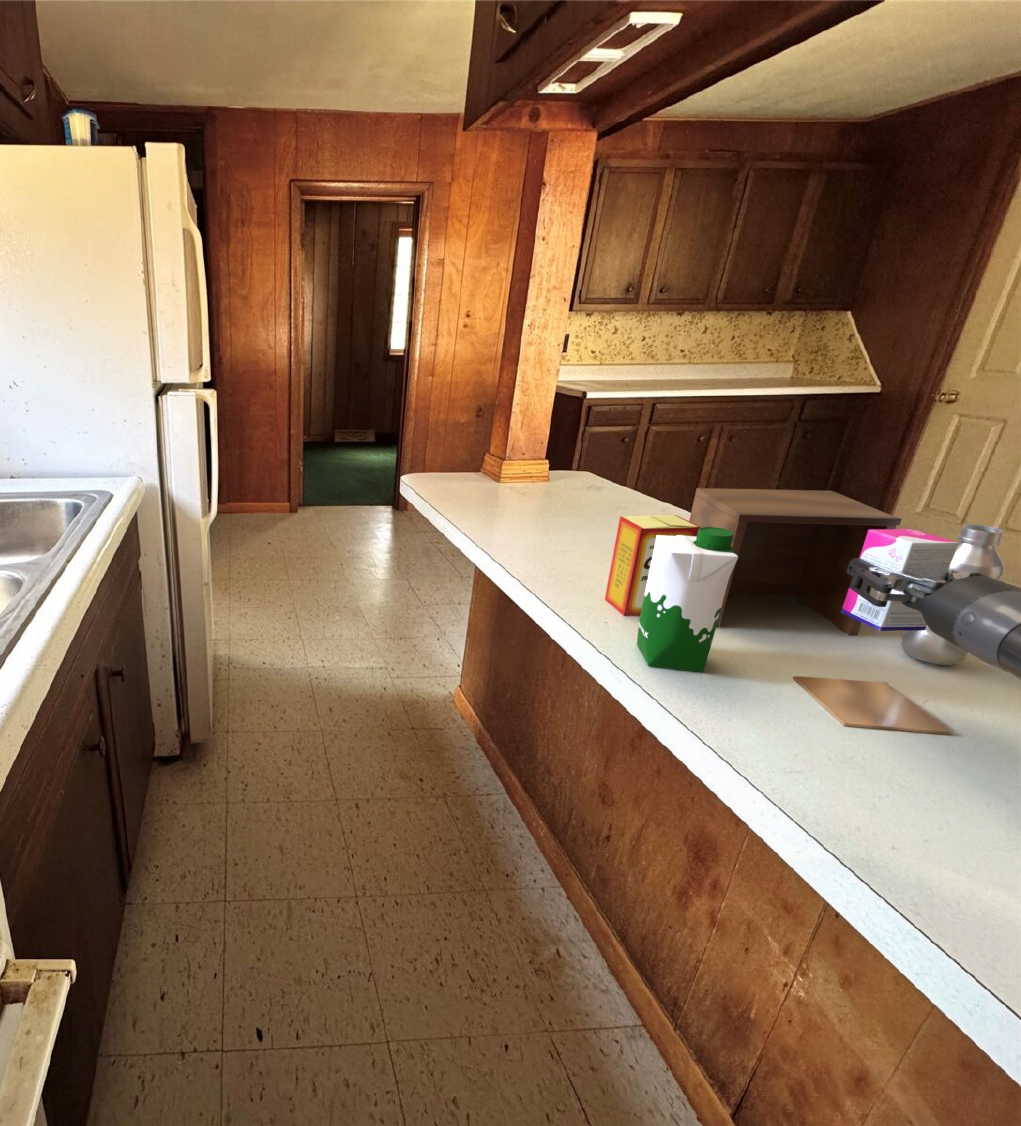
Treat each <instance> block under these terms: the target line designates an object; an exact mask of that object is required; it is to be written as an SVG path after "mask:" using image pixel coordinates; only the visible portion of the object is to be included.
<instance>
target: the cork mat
mask: <svg viewBox="0 0 1021 1126" xmlns="http://www.w3.org/2000/svg"><path fill="white" fill-rule="evenodd" d="M792 679H793V680H794V681H795V682H796V683H797V684H798V685H799V686H801V688H803V689H804V690H805V692H807V693H808V694H809V695H810V696H811V697H812V698H813V699H814V700H816V701H817V703H819V704H820V705H821V706H822V707H823V708H824V709H825V710H826V711H827V712H828V713H829V714H830V715H831V716H832V717H834V718H835V720H836V721H838V722H839V723H840V724H841V725H842V726H844V727H852V728H854V727H855V728H866V729H878V730H888V731H889V730H890V731H900V732H901V731H902V732H912V733H923V734H924V733H925V734H937V735H946V736H947V735H948V736H950V735H951V734H952V732H951V731H950V730H949V729H947V728H946V727H945V726H944V725H943V724H941V723H940V722H938V721H937V720H936V719H935V718H933V717H932V716H931V715H929V714H928V713H927V712H925V711H924V710H923V709H921V708H920V707H919V706H918V705H916V704H915V703H914V702H912V701H911V700H910V699H909V698H907V697H906V696H905V695H903V693H901V692H899V691H898V690H897V689H896V688H894V687H893V686H891V685H890V684H889V683H888V682H885V681H883V682H882V681H870V680H857V679H856V680H855V679H841V678H829V677H814V676H813V677H812V676H803V675H801V676H799V675H793V677H792Z"/></svg>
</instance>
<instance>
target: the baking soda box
mask: <svg viewBox="0 0 1021 1126" xmlns="http://www.w3.org/2000/svg"><path fill="white" fill-rule="evenodd" d="M700 528H701V527H700V526H698V525H696V524H694V523H691V522H689V520H688V519H685V518H683V517H681V516H679V515H677V514H650V515H630V516H629V515H628V516H627V515H625V516H620V517H619V521H618V526H617V532H616V536H615V537H616V538H615V542H614V548H613V553H612V558H611V564H610V569H609V574H608V580H607V584H606V590H605V596H604V601H606V602H607V603H608V604H610V606H611V607H612V608H614V609H615V610H616V611H618V612H619V614H620V615H622V616H626V617H627V616H640V613H641V609H642V604H643V599H644V594H645V589H646V584H647V580H648V575H649V570H650V565H651V561H652V556H653V551H654V546H655V541H656V536H657V535H665V536H676V535H684V536H694V537H697V534H698V530H699V529H700Z"/></svg>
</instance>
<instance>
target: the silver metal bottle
mask: <svg viewBox="0 0 1021 1126" xmlns="http://www.w3.org/2000/svg"><path fill="white" fill-rule="evenodd" d="M1003 535H1004V530H1003V529H1001V528H998V527H994V526H990V525H985V524H984V525H983V524H973V523H967V524H963V526H962V527H961V530H960V532H959V533H958V535H957V537H956V538H957V540H959V541H958V542H957V543H959V544H958V547H957V549H956V552H955V555H954V557H953V560H952V562H951V565H950V567H949V570H956V571H958V572H961V573H962V574H964V575H967V576H969V575H970V573H980V574H982V575H985V576H988V577H990V578H993V579H996V580H999V581H1001V579H1002V577H1003V576H1004V574H1005V573H1006V565H1005V562H1004V560H1003V558H1002V556H1001V555H1000V552H998V550H997V549H996V548H997V546H998V547H999V546H1000V545H1001V543H1002V538H1003ZM900 645H901V648H902V650H903V651H904V653H905V654H907V655H908V656H910V657H912V658H915V659H917V660H920V661H922V662H926V663H930V664H934V665H941V666H953V665H956V664H958V663H960V662H963V660H964V659H965V658H966V657H967V655H968V654H969V653H967V652H966V651H964V650H962V649H961V648H959V647H957V646H956V645H954V644H952V643H950V642H949V641H947V640H945V639H944V638H942V637H940V636H938V635H937V634H935V633H934V632H933V631H931V630H930V628H929V627H928V626H927V627H926V629H925V630H920V631H903V633H902V636H901V641H900Z"/></svg>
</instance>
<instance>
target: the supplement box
mask: <svg viewBox="0 0 1021 1126" xmlns="http://www.w3.org/2000/svg"><path fill="white" fill-rule="evenodd" d="M958 544H959V543H958V542H957V541H954V540H951V539H948V538H945V537H941V536H937V535H934V534H931V533H928V532H924V531H921V530H917V529H913V528H900V529H899V528H897V529H891V530H890V529H870V530H868V534H867V537H866V540H865V543H864V546H863V549H862V552H861V555H860V558H859V559H863V560H864V561H866V562H868V563H870V564H872V565H874V566H876V567H878V568H879V569H883V570H886V571H890V572H897V571H905V572H908V573H912V574H915V575H919V576H922V577H926V578H928V577H934V578H937V579H941V580H945V577H946V575H947V573H948V570H949V567H950V565H951V562H952V560H953V557H954V555H955V552H956V549H957V547H958ZM880 579H882V580H884V581H885V582H888V579H887V578H885V577H882V576H880ZM908 581H909V580H905V579H903V581H902V584H901V587H900V589H899V591H901V592H903V591H904V588H905V585H906V583H907V582H908ZM841 613H843V614H845V615H847V616H849V617H852V618H854V619H856V620H858V621H860V622H862V623H861V624H864V625H866V626H868V627H870V628H872V629H873V630H876V631H878V632H905V631H920V630H925V629H926V627H927V624H926V622H925V620H924V618H923V616H922V614H921V612H918V611H915V610H913V609H911V608H910V607H907V606H905V605H903V604H900V603H897V602H894V601H888V602H887V605H886V607H877V606H875V605H873V604H871V603H870V602H868V601H867V600H866V599H864V598H863V597H861V596H860V595H859V594H857V593H856V592H854V591H853V590H852V589H850V588H849V590H848V593H847V596H846V599H845V602H844V605H843V608H842V611H841Z"/></svg>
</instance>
